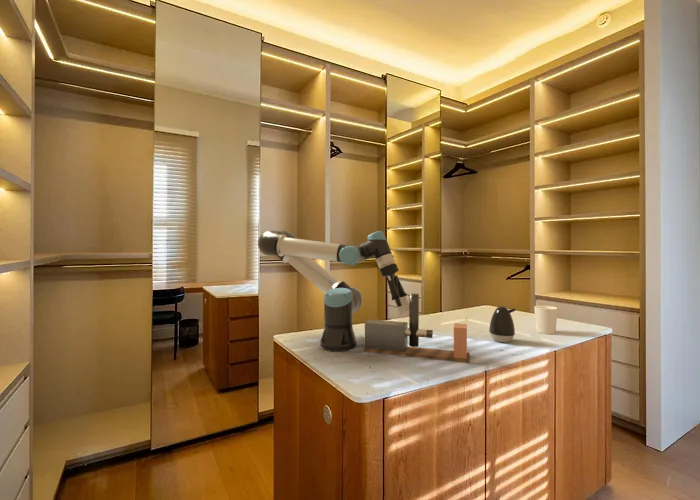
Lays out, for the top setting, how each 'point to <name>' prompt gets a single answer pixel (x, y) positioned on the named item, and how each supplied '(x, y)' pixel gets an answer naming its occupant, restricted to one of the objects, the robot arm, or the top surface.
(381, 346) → the box on wooden plank
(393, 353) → the base board
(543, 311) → the candle holder
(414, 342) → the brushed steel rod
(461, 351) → the socket
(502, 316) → the pump dispenser
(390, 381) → the top surface
